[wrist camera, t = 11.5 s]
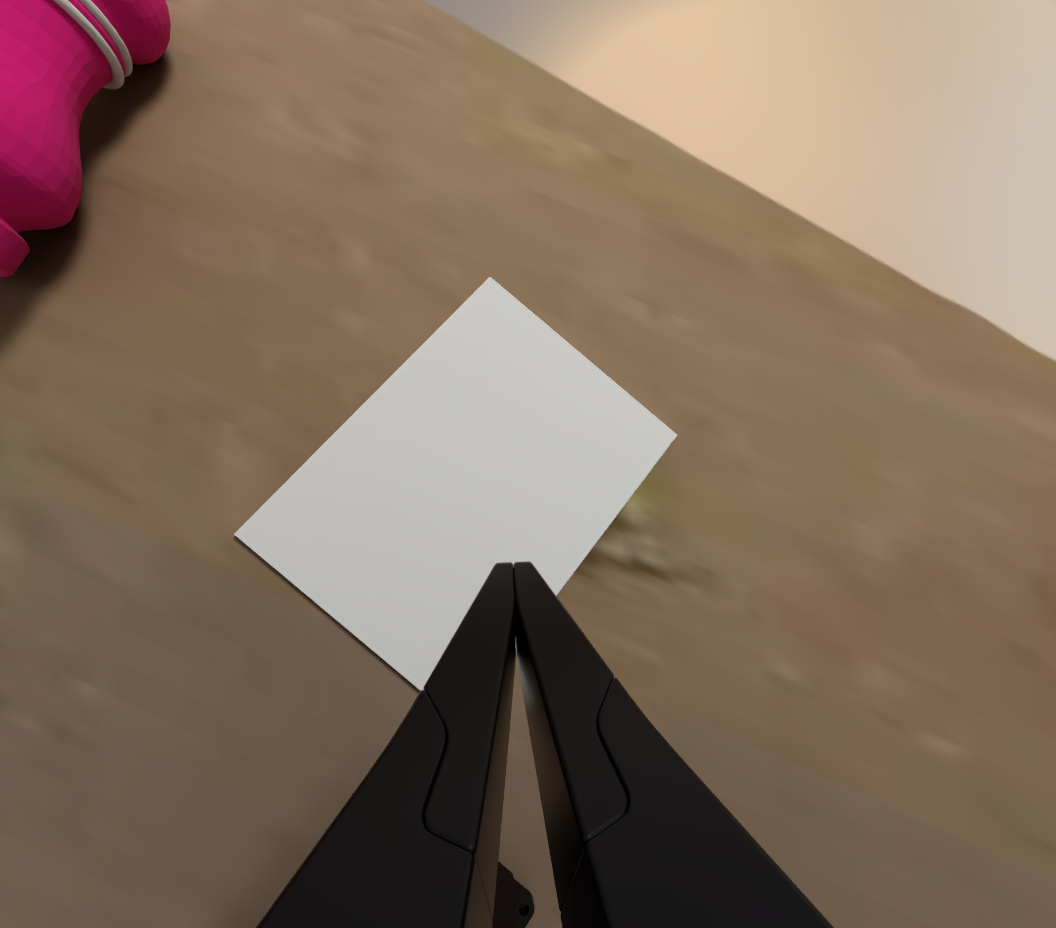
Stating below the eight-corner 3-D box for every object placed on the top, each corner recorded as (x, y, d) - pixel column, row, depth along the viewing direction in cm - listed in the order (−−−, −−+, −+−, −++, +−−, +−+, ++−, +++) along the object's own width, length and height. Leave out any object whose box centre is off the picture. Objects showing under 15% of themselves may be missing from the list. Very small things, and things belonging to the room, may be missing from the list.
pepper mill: (-231, 186, 16) (37, -100, 21) (33, 300, 21) (201, 51, 26) (-368, 82, 11) (21, -260, 16) (16, 261, 16) (225, -36, 21)
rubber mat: (460, 721, 20) (459, 723, 20) (236, 534, 20) (234, 534, 19) (675, 435, 24) (677, 435, 23) (489, 278, 24) (490, 276, 23)
